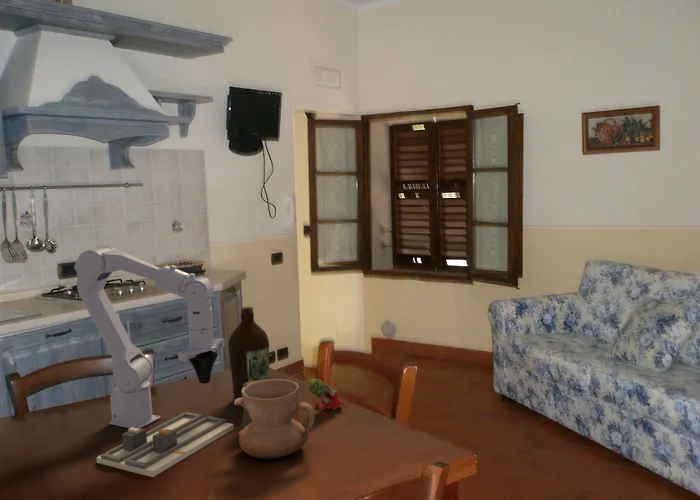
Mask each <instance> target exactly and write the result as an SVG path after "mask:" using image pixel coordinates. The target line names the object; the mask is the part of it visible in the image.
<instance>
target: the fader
mask: <svg viewBox="0 0 700 500" xmlns="http://www.w3.org/2000/svg"><path fill="white" fill-rule="evenodd" d="M127 429H128V431H126V432H123V433H122V434H121V437H122V444H123V449H125V450H129V451H132V450H134V449H136V448H138V447H140V446H142V445H144V444H145V443H147V434H146V432H147V429H146V428H143V427H142V428H138V427H136V428H133V427H131V428H127Z"/></svg>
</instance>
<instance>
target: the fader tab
mask: <svg viewBox="0 0 700 500" xmlns="http://www.w3.org/2000/svg"><path fill="white" fill-rule="evenodd" d="M152 437H153V451H155V452H159V453H163V452H165V451H167V450H169V449H170V448H172V447H174V446H176V445H177V435H176V431H173V430H168V429H165V430H163V429H161V430H159V431H158V433H157V434H155V435H153V436H152Z"/></svg>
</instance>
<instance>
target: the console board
mask: <svg viewBox="0 0 700 500" xmlns="http://www.w3.org/2000/svg"><path fill="white" fill-rule="evenodd" d="M161 429H163V430H165V429H168V430H173V431H176V435H177V445H176V446H174V447H172V448H170V449H169V450H167V451H165V452H163V453H159V452H155V451H153V437H152V436H153V435H155V434H157V433H158V431H159V430H161ZM234 429H235V426H234V423H230V422H226V418H220V417H214V416H209V415H207V416H205V417H203V414H199V413H193V412H189V411H188V412H187V411H185V412H183V413H181V414H178V415H177V416H175V417H173V418H171V419H168V420H167V421H165V422H163V423H161V424H159V425H157V426H155V427H152V428H151V429H150V430H148V431H147V430H146V434H147V443H145V444H144V445H142V446H140V447H138V448H136V449H134V450H132V451H129V450H125V449H123V443H121V444H120V445H117V446H115V447H113V448H111V449H109V450H108V451H107V450H106V451H105V452H104V453H102V454H100V455H98V456H97V457H96V463H97V464H100V465H104V466H107V467H108V466H109V467H112V468H116V469H119V470H124V471H126V472H131V473H135V474H139V475H143V476H148V477H151V478H154V477H157V476H158V475H159V474H161V473H162V472H164V471H166V470H167V469H170V468H171V467H172V466H175V465H177V464H178V463H179V462H181V461H182V460H184V459H186V458H188V457H189V456H191V455H192V454H194V453H196V452H198V451H199V450H201V449H203V448H204V447H207V446H208V445H209V444H211V443H213V442H214V441H216V440H218V439H219V438H221V437H223V436H224V435H226V434H228V433H229V432H231V431H233V430H234Z"/></svg>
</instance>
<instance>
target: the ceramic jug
mask: <svg viewBox="0 0 700 500" xmlns="http://www.w3.org/2000/svg"><path fill="white" fill-rule="evenodd" d="M299 387H300V386H299V384H298V383H297V382H296V381H293V380H289V379H284V378H273V379H272V378H270V379H269V380H262V381H257V382H253V383H250V384H248V385H247V386H246V387H244V388H243V389H242V398H237V399H236V400H235V401H234V400H233V401H234V402H233V404H234V406H241V407H243V409H244V408H246V409H247V410H248V413H249V415H250V417H251V419H252V421H253V422H252V423H250V424H249V425H247V426H246V427H245V428H244V429H243V428H242V429H241V430H240V431H239V432H238V436H239V437H238V444H239V446H240V448H241V449H242V451H243V452H244V453H246V454H247V455H249V456H250V457H254V458H258V459H267V460H271V459H273V460H274V459H280V458H283V457H287V456H289V455H291V454H294V453H296V452H298V451H299V450H300V449H302V448H303V446H304V445H305V444H306V442H308V440H309V433H310V432H311V431H312V430H311V429H312V428H313V427H314V424H315V423H314V422H315V416H316V415H315V410H314V408H313V406H312V405H311V404H310V403H308V402H305V401H301V402H298V400H299V399H298V398H299V390H300V389H299ZM297 402H298V403H297ZM299 410H305V411H306V413H307V424H306V427H304V426H303V424H302V423H300V422H299V421H297V420H296V419H293V418H292V417H293V415H294V414H295V413H296V412H297V411H299Z"/></svg>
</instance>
